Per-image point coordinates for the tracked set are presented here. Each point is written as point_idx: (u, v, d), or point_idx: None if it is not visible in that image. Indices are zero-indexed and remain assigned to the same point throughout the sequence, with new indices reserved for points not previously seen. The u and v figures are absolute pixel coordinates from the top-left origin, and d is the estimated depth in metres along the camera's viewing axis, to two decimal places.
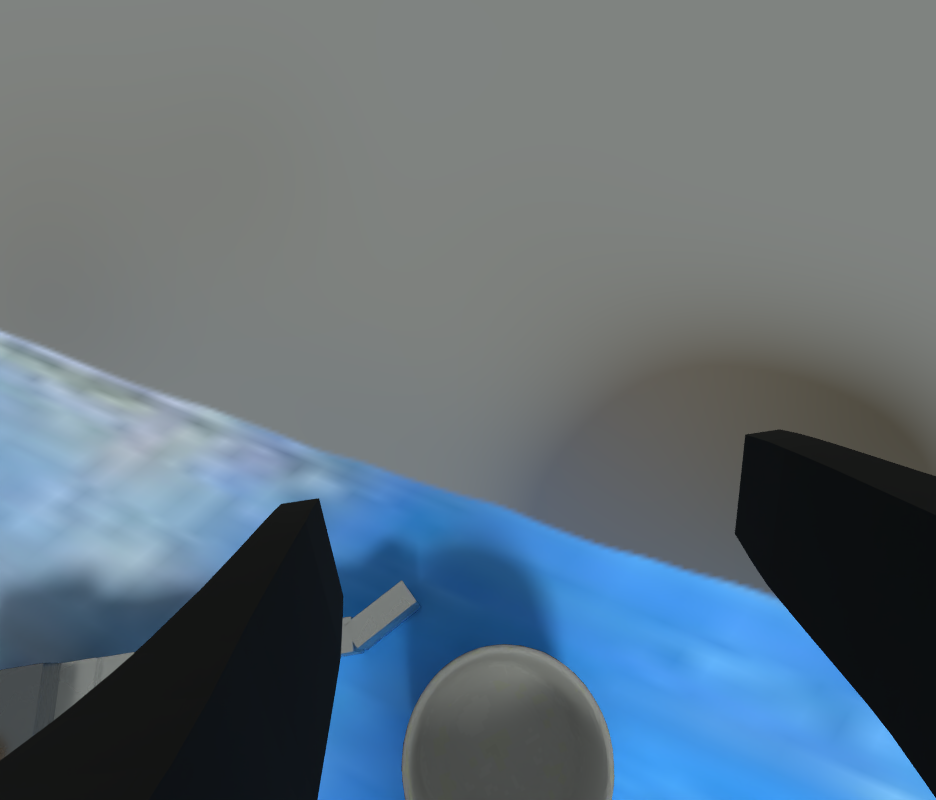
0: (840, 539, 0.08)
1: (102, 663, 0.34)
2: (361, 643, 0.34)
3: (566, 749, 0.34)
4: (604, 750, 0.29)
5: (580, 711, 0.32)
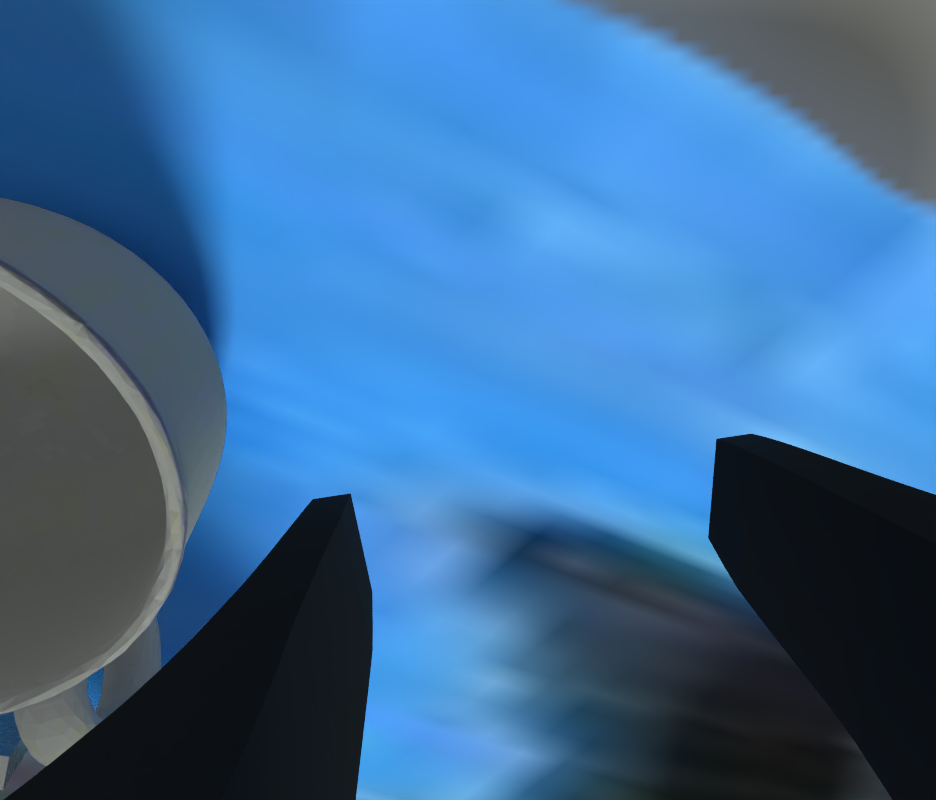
0: (805, 545, 0.08)
1: None
2: None
3: None
4: None
5: None
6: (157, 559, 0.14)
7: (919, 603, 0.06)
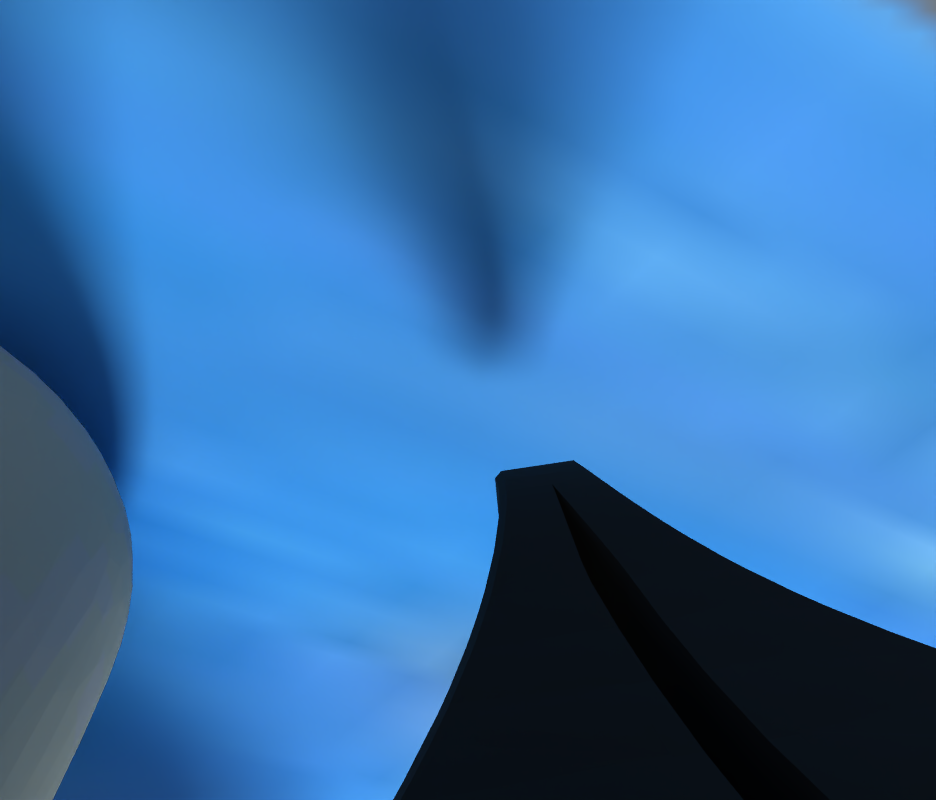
0: None
1: None
2: None
3: None
4: None
5: None
6: None
7: (640, 651, 0.06)
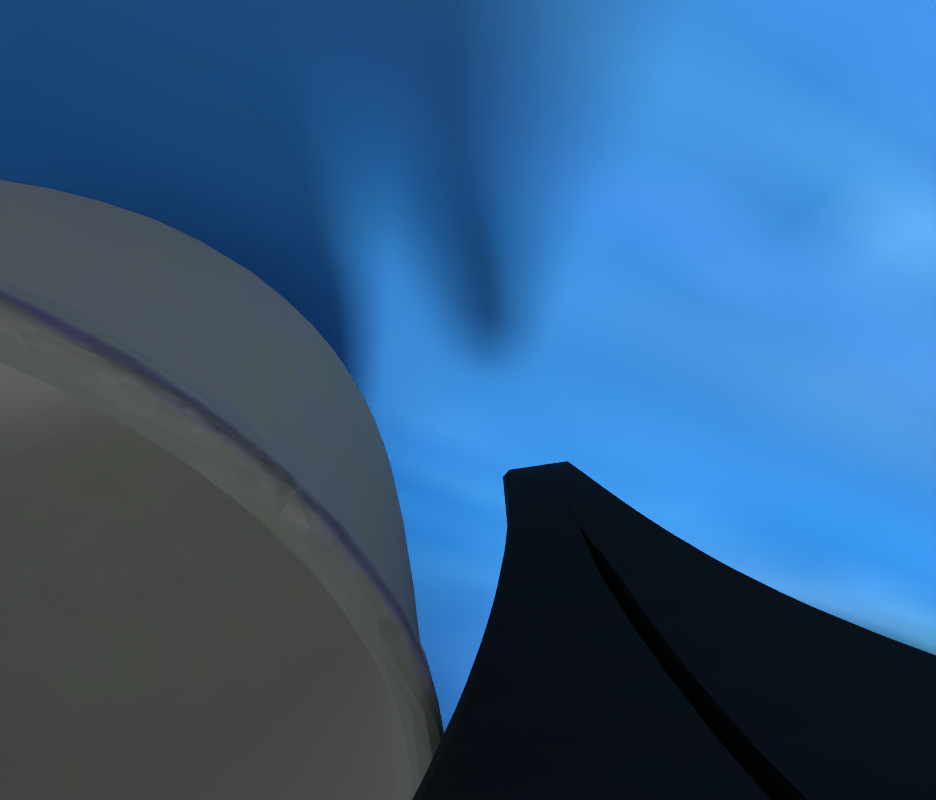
0: None
1: None
2: None
3: None
4: None
5: None
6: None
7: None
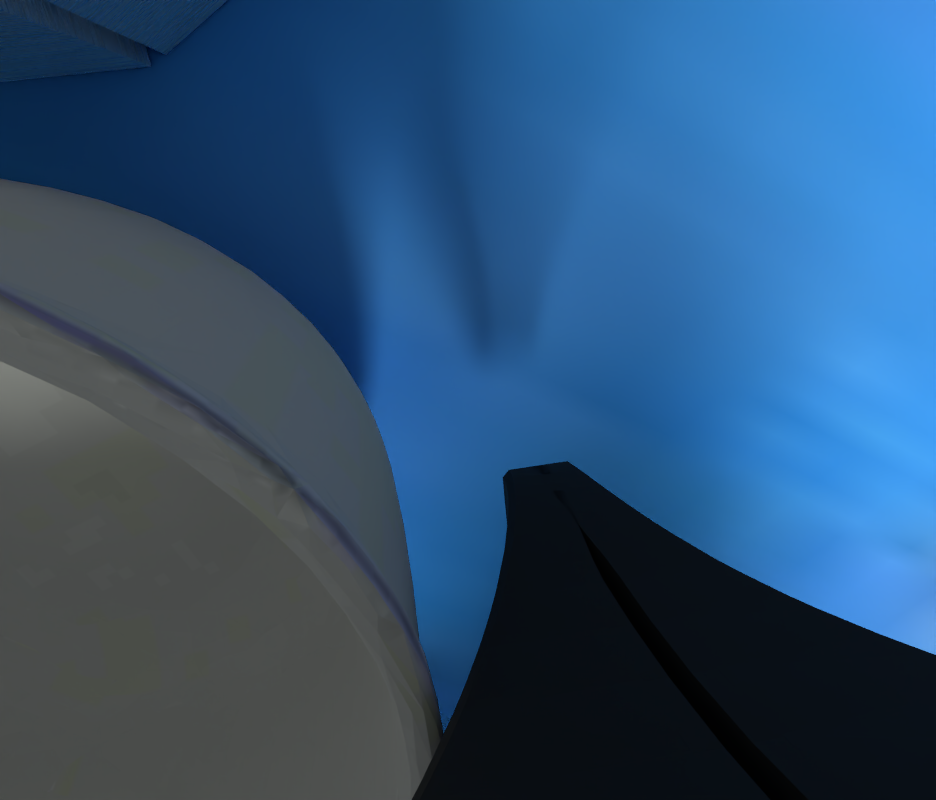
0: None
1: None
2: None
3: None
4: None
5: None
6: None
7: None
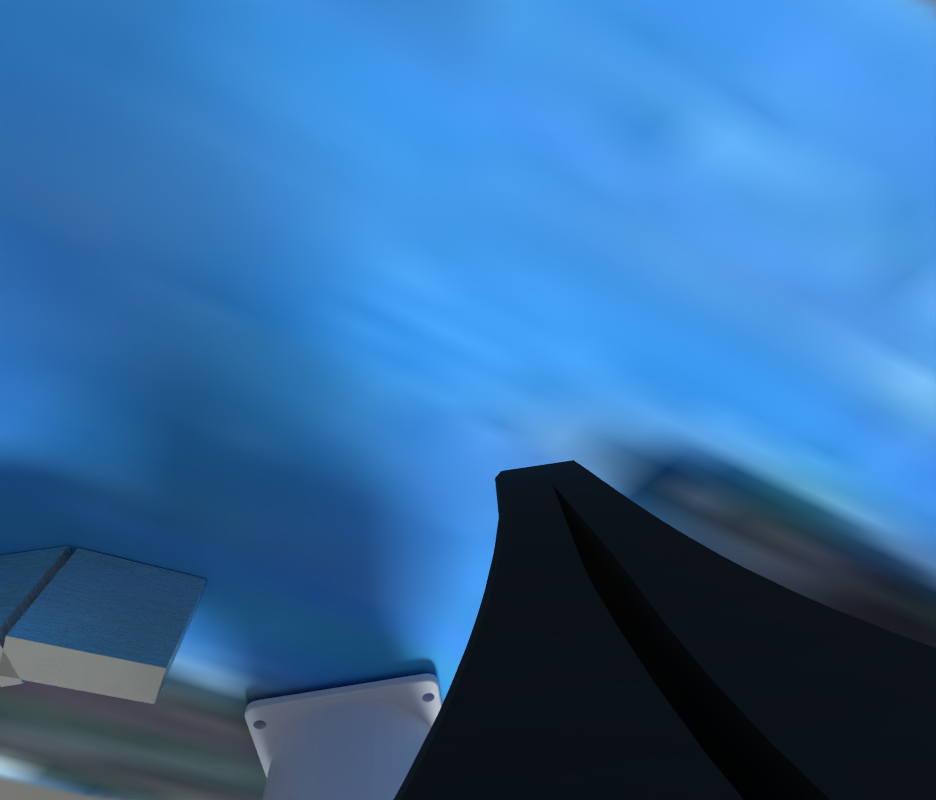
0: None
1: None
2: None
3: None
4: None
5: None
6: None
7: (640, 651, 0.06)
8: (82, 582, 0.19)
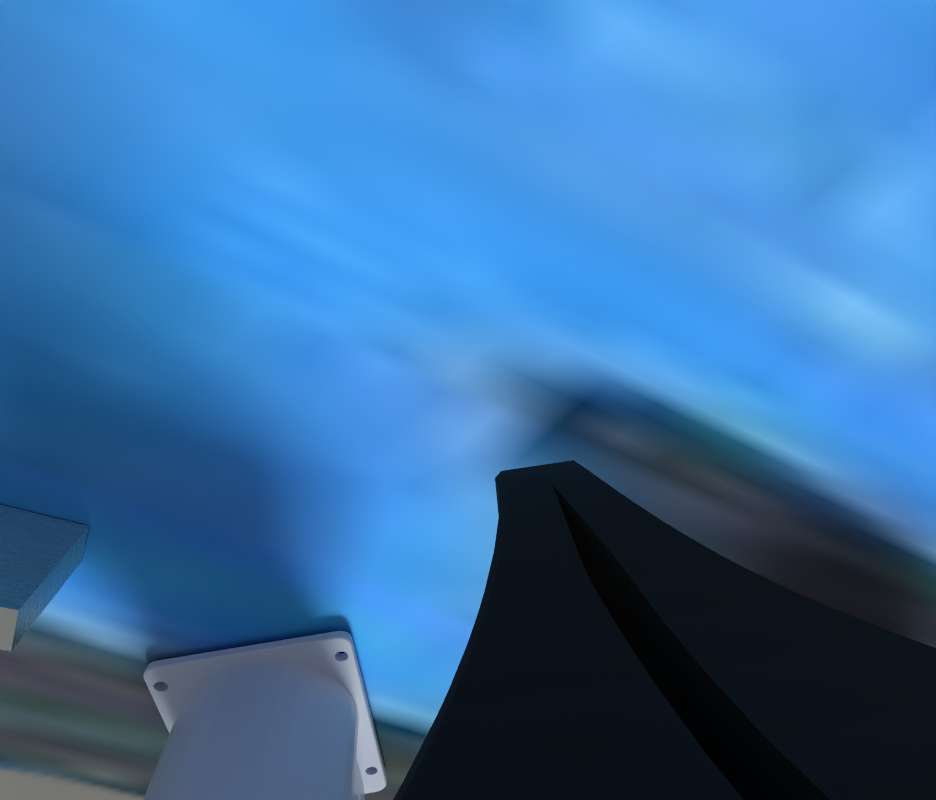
0: None
1: None
2: None
3: None
4: None
5: None
6: None
7: (640, 651, 0.06)
8: None
